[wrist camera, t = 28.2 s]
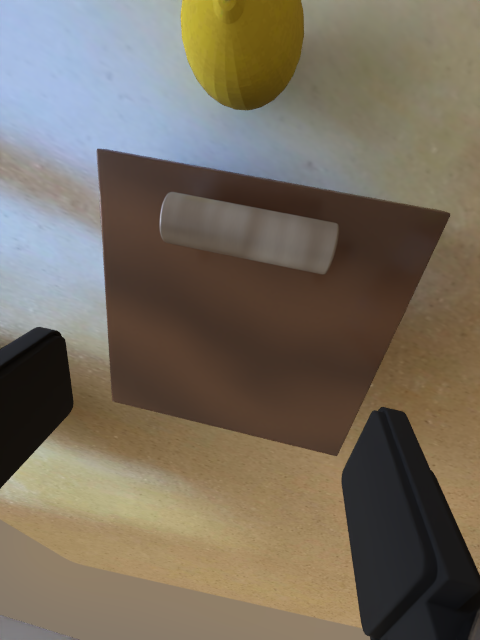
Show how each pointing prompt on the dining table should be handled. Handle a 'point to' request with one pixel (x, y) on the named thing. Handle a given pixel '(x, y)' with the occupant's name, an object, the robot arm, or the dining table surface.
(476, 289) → the dining table surface
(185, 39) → the lemon
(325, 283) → the lid
